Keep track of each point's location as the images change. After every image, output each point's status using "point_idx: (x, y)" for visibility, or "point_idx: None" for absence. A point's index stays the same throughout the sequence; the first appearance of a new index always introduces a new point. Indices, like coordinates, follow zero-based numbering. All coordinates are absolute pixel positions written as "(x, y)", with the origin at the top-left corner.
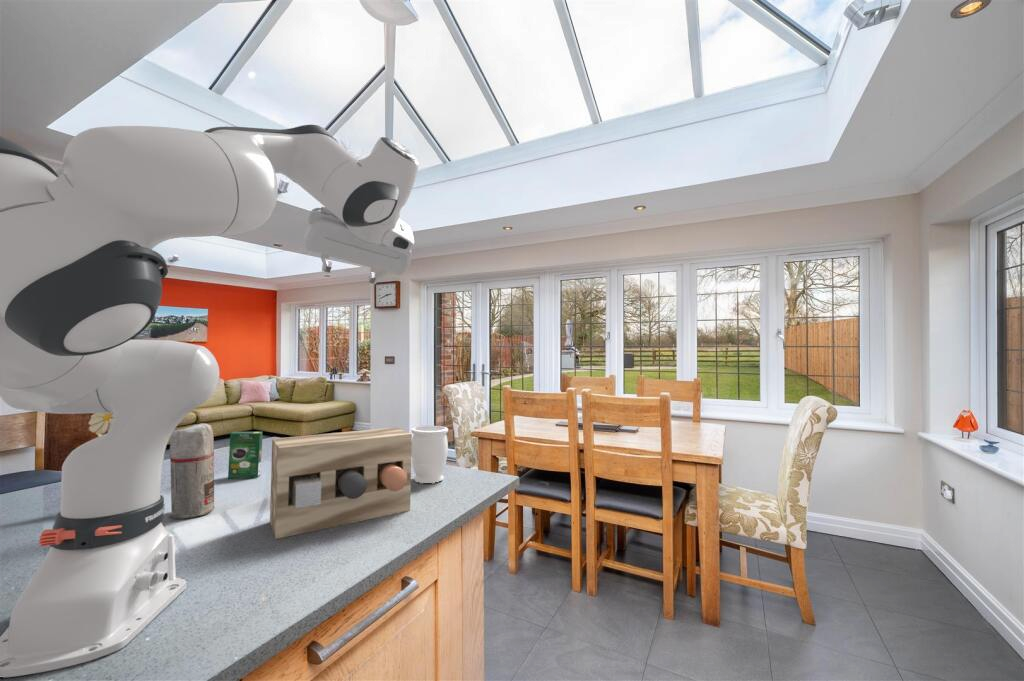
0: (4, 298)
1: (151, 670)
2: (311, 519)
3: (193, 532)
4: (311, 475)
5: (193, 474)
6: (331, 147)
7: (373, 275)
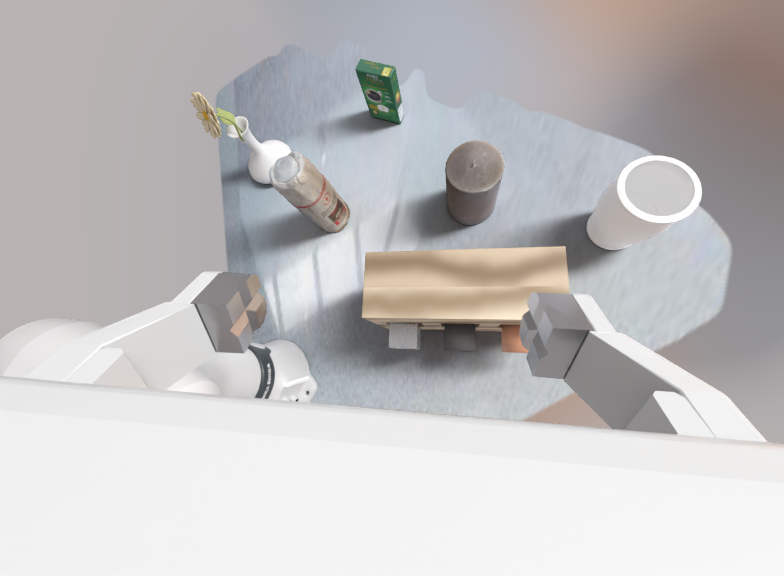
0: None
1: None
2: None
3: (329, 270)
4: None
5: (312, 214)
6: None
7: (562, 355)
